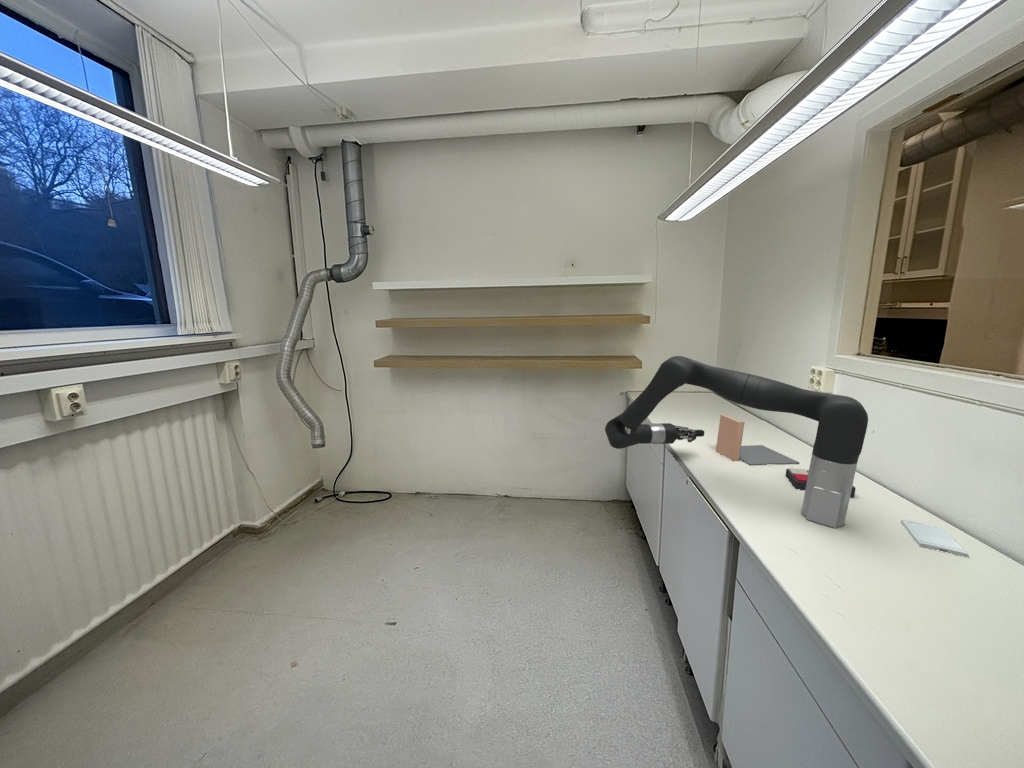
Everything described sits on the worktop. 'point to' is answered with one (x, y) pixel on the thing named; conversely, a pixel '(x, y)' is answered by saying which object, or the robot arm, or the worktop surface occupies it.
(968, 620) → the worktop surface
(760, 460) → the mat
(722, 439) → the tile
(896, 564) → the worktop surface
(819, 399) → the robot arm
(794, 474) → the calculator
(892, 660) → the worktop surface
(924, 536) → the hard drive
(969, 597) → the worktop surface
